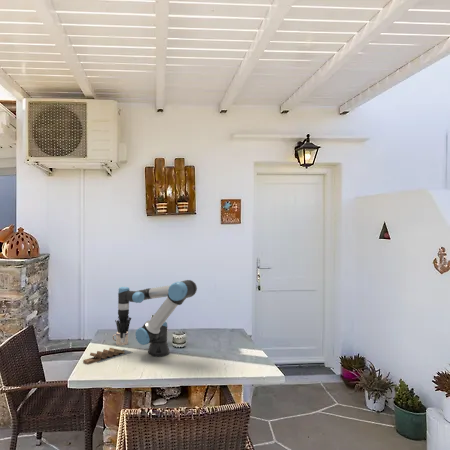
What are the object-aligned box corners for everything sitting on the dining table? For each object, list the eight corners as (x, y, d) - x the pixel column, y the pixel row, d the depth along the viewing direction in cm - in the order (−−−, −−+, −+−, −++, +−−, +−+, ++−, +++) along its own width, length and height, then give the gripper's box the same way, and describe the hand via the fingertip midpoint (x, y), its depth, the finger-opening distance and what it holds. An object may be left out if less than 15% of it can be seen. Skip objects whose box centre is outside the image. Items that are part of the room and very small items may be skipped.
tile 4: (102, 354, 288) (90, 352, 280) (106, 356, 285) (95, 354, 277) (101, 357, 287) (89, 355, 280) (106, 358, 284) (94, 356, 277)
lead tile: (124, 353, 297) (113, 351, 289) (119, 352, 300) (108, 350, 292) (124, 351, 297) (114, 349, 290) (120, 349, 300) (109, 347, 293)
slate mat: (133, 353, 300) (133, 352, 300) (98, 363, 276) (98, 362, 276) (124, 350, 306) (124, 349, 306) (88, 360, 282) (88, 359, 282)
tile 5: (96, 356, 284) (83, 360, 276) (100, 357, 281) (87, 361, 273) (96, 359, 284) (83, 362, 276) (100, 360, 281) (87, 364, 273)
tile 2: (114, 351, 296) (103, 349, 289) (119, 352, 293) (108, 350, 286) (113, 353, 296) (102, 351, 288) (118, 355, 293) (107, 353, 285)
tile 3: (108, 353, 292) (97, 350, 284) (113, 354, 289) (102, 352, 282) (107, 355, 291) (96, 353, 284) (112, 357, 288) (101, 355, 281)
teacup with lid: (129, 343, 325) (129, 327, 325) (125, 346, 316) (126, 330, 316) (114, 342, 326) (114, 327, 326) (110, 345, 317) (110, 330, 317)
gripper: (127, 307, 306) (126, 339, 306) (112, 309, 296) (111, 343, 296) (134, 308, 302) (133, 341, 302) (119, 311, 291) (119, 345, 291)
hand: (122, 342), depth 299 cm, fingers closed
